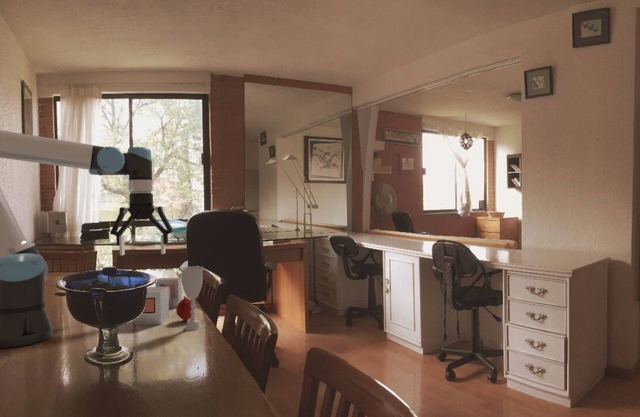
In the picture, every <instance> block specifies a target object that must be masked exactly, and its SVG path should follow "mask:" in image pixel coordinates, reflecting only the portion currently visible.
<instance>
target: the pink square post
mask: <svg viewBox="0 0 640 417" xmlns="http://www.w3.org/2000/svg"><path fill="white" fill-rule="evenodd" d="M168 293H169V299H170V287H169V288H168ZM154 311H155V298H146V305H145V309H144V311H143V312H154Z"/></svg>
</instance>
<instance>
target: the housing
mask: <svg viewBox="0 0 640 417" xmlns="http://www.w3.org/2000/svg"><path fill="white" fill-rule="evenodd" d="M147 287H148V288H147V298H155V311H154V312H143V313H142V314H141V315H140V316H139V317H138V318H136V319H135V320H134V319H133V320H134V326H151V325H152V326H153V325H154V326H155V325H162V324H163V323H164V322H165V321H166V320H167V319H168V318H170V313H169V312H170V308H169V293H168V287H156V286H147Z"/></svg>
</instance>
